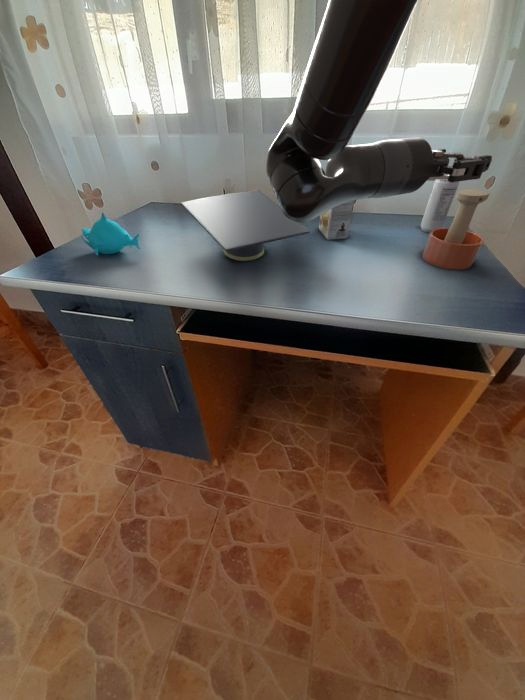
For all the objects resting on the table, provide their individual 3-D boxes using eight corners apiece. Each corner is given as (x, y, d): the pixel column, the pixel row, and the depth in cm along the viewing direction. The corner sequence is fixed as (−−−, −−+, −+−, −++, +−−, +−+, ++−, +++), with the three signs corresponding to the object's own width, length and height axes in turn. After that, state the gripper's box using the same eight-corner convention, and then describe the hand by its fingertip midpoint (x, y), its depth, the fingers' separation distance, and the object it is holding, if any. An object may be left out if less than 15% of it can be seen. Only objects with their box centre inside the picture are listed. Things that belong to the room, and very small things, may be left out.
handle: (464, 260, 74) (494, 194, 64) (442, 263, 73) (469, 196, 63) (450, 252, 77) (477, 189, 67) (429, 255, 76) (453, 191, 66)
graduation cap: (185, 239, 85) (179, 201, 77) (257, 224, 93) (258, 188, 85) (224, 292, 68) (221, 250, 61) (307, 269, 76) (314, 230, 69)
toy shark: (101, 243, 86) (87, 203, 79) (155, 250, 81) (145, 209, 74) (76, 257, 79) (57, 214, 72) (134, 265, 74) (120, 221, 67)
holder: (478, 259, 75) (489, 235, 71) (462, 274, 69) (474, 249, 65) (432, 247, 81) (440, 224, 77) (414, 260, 75) (422, 236, 71)
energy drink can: (433, 226, 94) (453, 172, 84) (444, 233, 89) (466, 176, 79) (415, 227, 93) (433, 172, 83) (425, 234, 89) (445, 177, 79)
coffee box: (317, 229, 93) (324, 170, 82) (337, 228, 93) (346, 169, 83) (327, 240, 86) (335, 177, 75) (348, 238, 87) (359, 176, 76)
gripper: (438, 144, 38) (518, 136, 43) (365, 134, 48) (437, 129, 53) (419, 207, 43) (493, 193, 48) (356, 186, 53) (423, 176, 58)
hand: (463, 159), depth 50 cm, fingers open, 8 cm apart
